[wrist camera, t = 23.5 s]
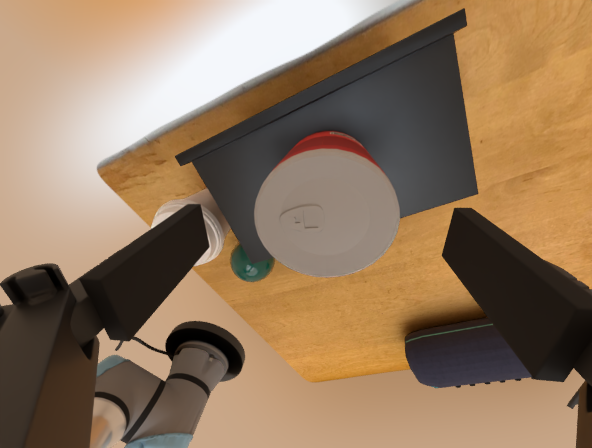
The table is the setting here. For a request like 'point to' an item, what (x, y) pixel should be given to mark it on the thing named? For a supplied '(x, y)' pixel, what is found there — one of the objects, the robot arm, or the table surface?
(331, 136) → the canned food
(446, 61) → the rack
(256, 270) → the sphere
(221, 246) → the coffee cup
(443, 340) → the portable speaker
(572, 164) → the table surface
